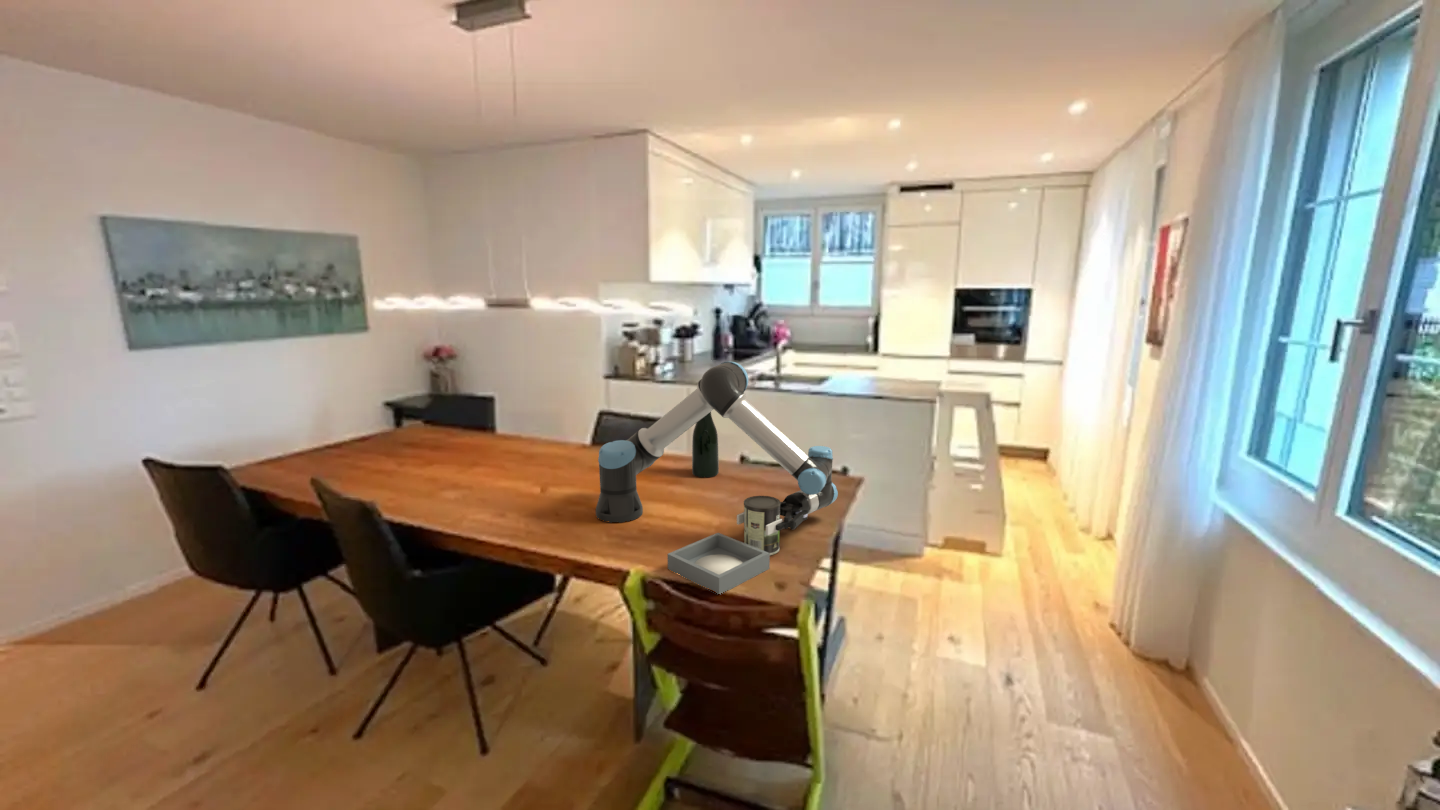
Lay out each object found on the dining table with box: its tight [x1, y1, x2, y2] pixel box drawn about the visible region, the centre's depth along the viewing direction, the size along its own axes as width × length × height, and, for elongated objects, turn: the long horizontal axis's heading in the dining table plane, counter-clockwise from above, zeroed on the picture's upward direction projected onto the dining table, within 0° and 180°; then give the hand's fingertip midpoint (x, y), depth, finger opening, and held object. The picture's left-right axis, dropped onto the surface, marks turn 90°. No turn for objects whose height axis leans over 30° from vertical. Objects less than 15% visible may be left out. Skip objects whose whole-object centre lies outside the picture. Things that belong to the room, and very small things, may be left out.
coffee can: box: [743, 495, 782, 556], centre depth 170 cm, size 10×10×14 cm
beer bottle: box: [691, 411, 720, 478], centre depth 235 cm, size 10×10×33 cm
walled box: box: [667, 532, 771, 595], centre depth 159 cm, size 19×19×4 cm
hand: (751, 525), depth 167 cm, fingers closed on coffee can, 10 cm apart
